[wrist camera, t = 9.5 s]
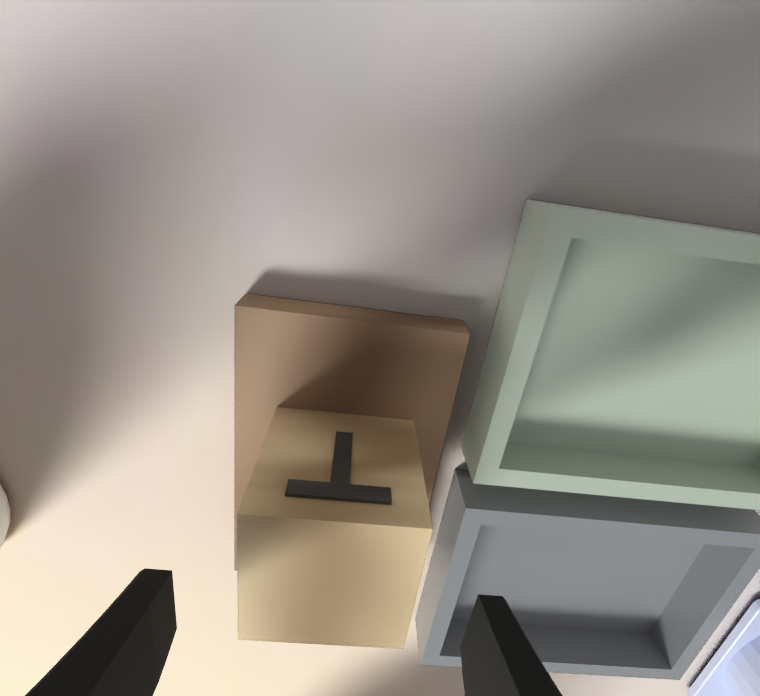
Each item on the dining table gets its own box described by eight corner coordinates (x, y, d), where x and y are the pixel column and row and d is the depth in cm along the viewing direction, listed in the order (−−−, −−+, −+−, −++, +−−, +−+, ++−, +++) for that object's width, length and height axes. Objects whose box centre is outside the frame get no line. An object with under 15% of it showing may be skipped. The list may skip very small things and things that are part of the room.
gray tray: (738, 496, 17) (782, 536, 15) (652, 634, 21) (679, 679, 19) (454, 469, 16) (465, 508, 15) (415, 618, 20) (420, 664, 18)
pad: (462, 320, 14) (470, 334, 13) (407, 557, 18) (409, 582, 17) (245, 293, 13) (234, 305, 12) (242, 544, 18) (234, 570, 17)
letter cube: (414, 417, 14) (433, 526, 10) (394, 521, 16) (403, 648, 12) (276, 404, 14) (236, 510, 9) (272, 511, 15) (237, 639, 11)
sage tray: (890, 253, 13) (973, 268, 11) (751, 475, 17) (798, 513, 15) (526, 198, 12) (554, 205, 11) (460, 446, 16) (473, 483, 14)
